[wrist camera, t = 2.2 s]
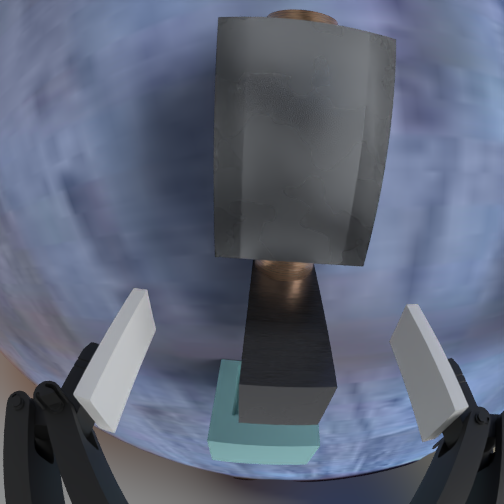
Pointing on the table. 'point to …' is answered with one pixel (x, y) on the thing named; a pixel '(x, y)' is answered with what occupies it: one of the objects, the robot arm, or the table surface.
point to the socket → (253, 430)
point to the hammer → (286, 334)
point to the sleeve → (299, 139)
